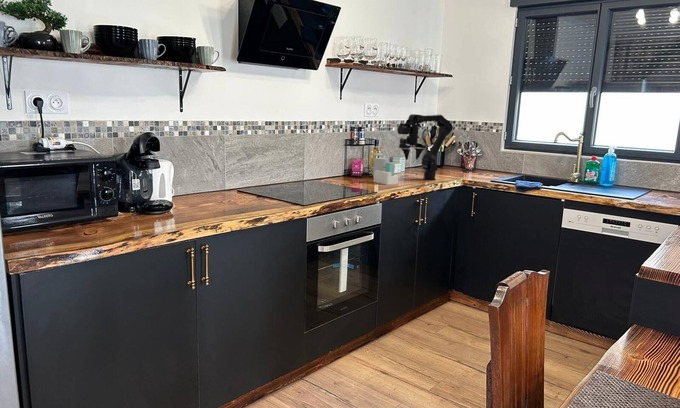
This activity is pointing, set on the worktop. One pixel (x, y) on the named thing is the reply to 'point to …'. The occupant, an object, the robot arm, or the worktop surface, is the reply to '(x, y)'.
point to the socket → (385, 177)
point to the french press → (375, 155)
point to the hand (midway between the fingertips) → (411, 159)
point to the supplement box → (380, 164)
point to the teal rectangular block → (390, 168)
